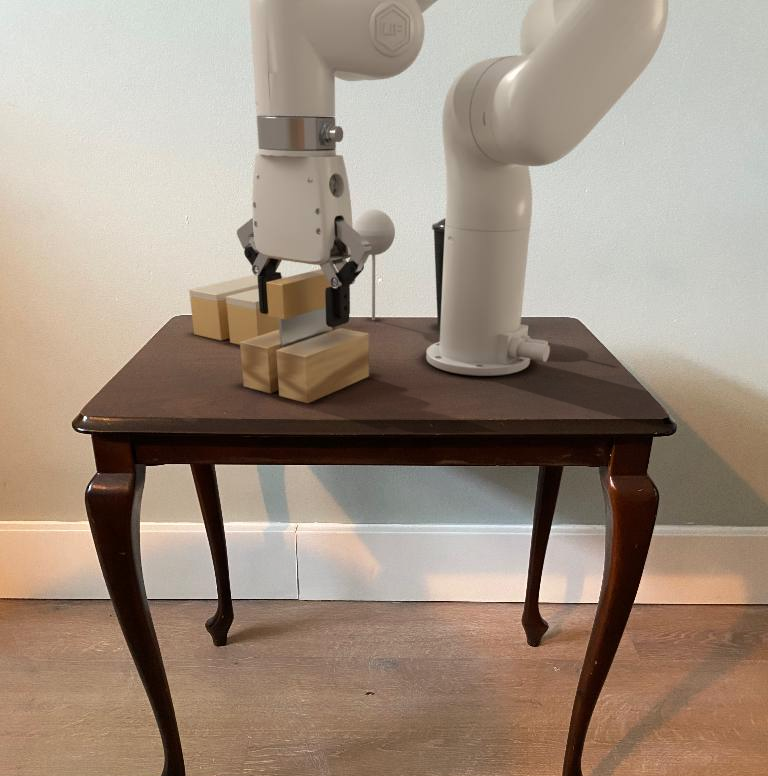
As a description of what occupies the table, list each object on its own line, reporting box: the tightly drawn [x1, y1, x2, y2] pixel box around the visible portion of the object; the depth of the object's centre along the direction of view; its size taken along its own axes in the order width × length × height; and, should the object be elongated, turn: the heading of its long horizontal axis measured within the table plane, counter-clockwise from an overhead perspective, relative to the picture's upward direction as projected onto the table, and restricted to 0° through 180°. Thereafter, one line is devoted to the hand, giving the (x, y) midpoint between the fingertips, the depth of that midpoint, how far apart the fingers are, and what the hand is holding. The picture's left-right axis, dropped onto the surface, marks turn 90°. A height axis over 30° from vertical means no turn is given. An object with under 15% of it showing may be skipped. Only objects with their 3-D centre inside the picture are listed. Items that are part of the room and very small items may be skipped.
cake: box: [188, 274, 287, 346], centre depth 100 cm, size 12×14×6 cm
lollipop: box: [352, 209, 396, 321], centre depth 103 cm, size 6×6×15 cm
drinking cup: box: [431, 217, 446, 330], centre depth 98 cm, size 8×8×20 cm
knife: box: [266, 268, 331, 349], centre depth 80 cm, size 2×9×12 cm, turn 145°
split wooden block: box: [239, 327, 370, 404], centre depth 81 cm, size 9×11×5 cm
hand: (303, 317), depth 79 cm, fingers open, 8 cm apart
